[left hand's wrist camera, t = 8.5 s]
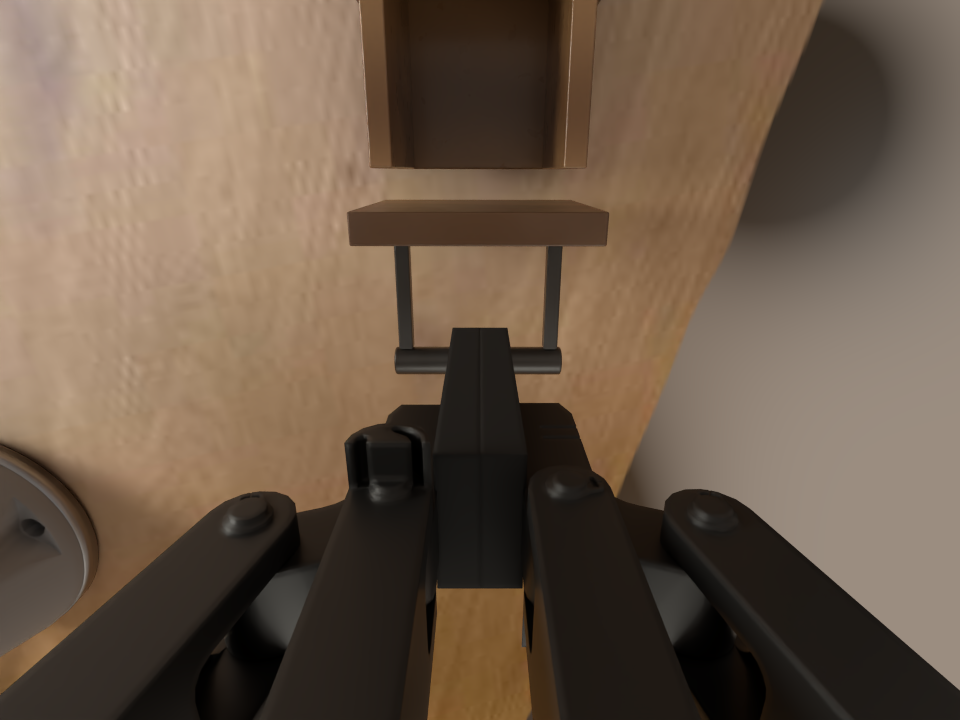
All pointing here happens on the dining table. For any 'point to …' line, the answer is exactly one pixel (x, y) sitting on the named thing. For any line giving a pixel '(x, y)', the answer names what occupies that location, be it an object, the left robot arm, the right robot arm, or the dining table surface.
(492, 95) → the drawer
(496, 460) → the left robot arm
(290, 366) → the dining table surface
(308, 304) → the dining table surface
